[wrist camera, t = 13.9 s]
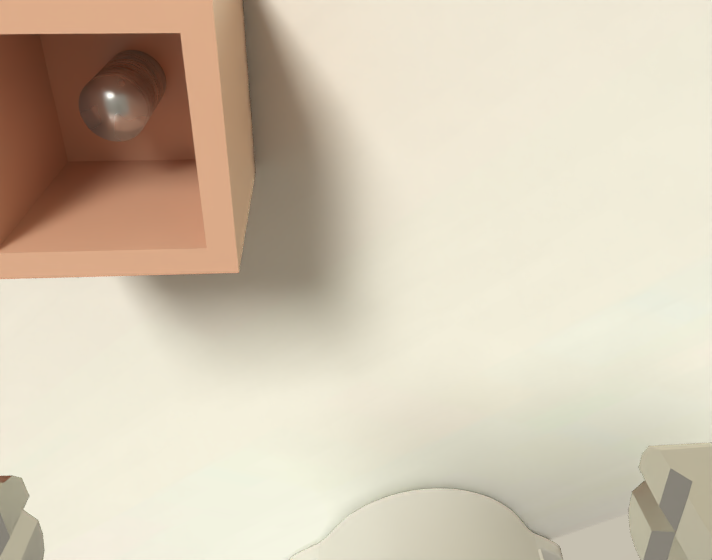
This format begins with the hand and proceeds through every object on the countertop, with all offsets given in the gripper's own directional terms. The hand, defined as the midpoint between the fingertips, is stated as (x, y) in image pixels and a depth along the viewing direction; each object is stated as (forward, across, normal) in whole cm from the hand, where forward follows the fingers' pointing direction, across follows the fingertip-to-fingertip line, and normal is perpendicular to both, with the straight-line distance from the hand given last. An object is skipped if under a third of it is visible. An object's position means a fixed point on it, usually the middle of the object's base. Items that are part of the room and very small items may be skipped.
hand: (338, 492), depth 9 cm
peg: (+22, +8, 0) cm, 24 cm away
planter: (+23, +8, 0) cm, 24 cm away
